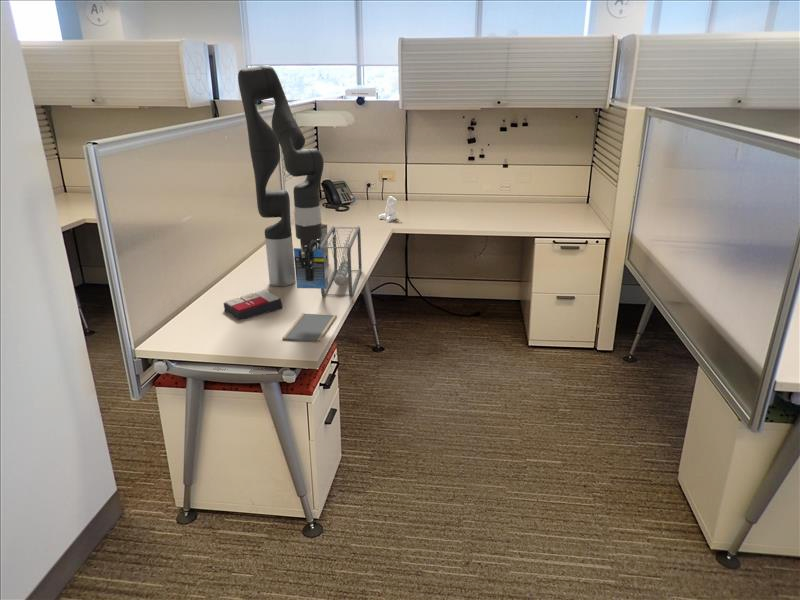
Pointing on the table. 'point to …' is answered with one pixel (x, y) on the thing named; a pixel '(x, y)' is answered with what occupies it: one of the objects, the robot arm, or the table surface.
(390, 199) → the sitting furry creature
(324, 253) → the coffee box
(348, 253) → the newton's cradle
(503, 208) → the table surface
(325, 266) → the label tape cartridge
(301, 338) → the mat
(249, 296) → the black red flat box
